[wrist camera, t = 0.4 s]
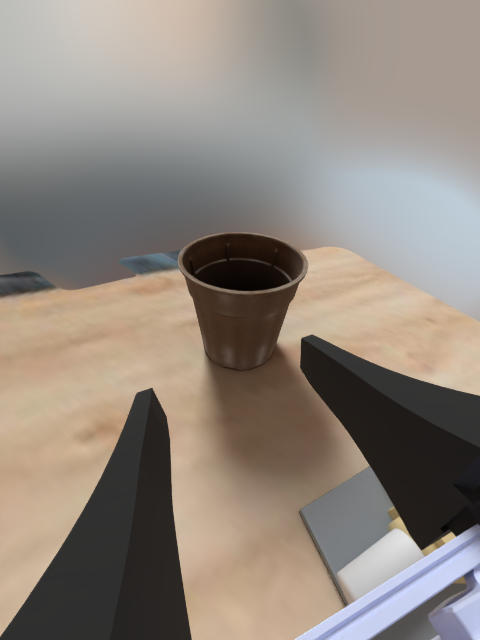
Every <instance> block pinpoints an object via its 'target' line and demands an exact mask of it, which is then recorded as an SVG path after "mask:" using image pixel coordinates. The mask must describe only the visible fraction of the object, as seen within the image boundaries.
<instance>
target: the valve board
mask: <svg viewBox="0 0 480 640" xmlns="http://www.w3.org/2000/svg"><path fill="white" fill-rule="evenodd" d="M299 513H300V515H301V517H302V519H303V521H304V523H305V525H306V527H307V529H308V531H309V533H310V535H311V537H312V539H313V541H314V543H315V545H316V547H317V549H318V551H319V553H320V555H321V557H322V559H323V561H324V563H325V565H326V567H327V569H328V571H329V573H330V575H331V577H332V579H333V581H334V583H335V585H336V587H337V589H338V591H339V593H340V595H341V597H342V599H343V601H344V603H345V605H346V607H347V606H348V605H350V604H351V603H353V602H355V601H356V600H358V599H359V598H361V597H362V596H364V595H366V594H367V593H369V592H370V591H372V590H374V589H375V588H377V587H378V586H380V585H381V584H383V583H385V582H386V581H388V580H389V579H391V578H392V577H394V576H396V575H397V574H399V573H400V572H402V571H403V570H405V569H407V568H408V567H410V566H411V565H413V564H414V563H416V562H418V561H419V560H421V559H422V558H424V557H426V556H427V555H429V554H430V553H432V552H433V551H435V550H437V549H438V548H440V547H441V546H443V545H444V544H446V543H448V542H449V541H451V540H452V539H454V538H455V537H456V536H455V535H454V534H453V533H452V532H451V533H449V534H448V535H446V536H444V537H443V538H441V539H440V540H438V541H436V542H435V543H433V544H432V545H430V546H428V547H427V548H425V549H424V550H421V549H420V548H419V547H418V546H417V544H416V543H415V541H414V540H413V539H412V537H411V536H410V534H409V532H408V531H407V529H406V527H405V525H404V523H403V521H402V519H401V518H400V516H399V514H398V512H397V511H396V509H395V507H394V505H393V503H392V502H391V500H390V498H389V496H388V495H387V493H386V491H385V490H384V488H383V486H382V485H381V483H380V481H379V480H378V478H377V476H376V475H375V473H374V471H373V470H372V468H371V466H370V467H368V468H366V469H365V470H363V471H362V472H360V473H358V474H357V475H355V476H353V477H352V478H350V479H349V480H347V481H345V482H344V483H342V484H341V485H339V486H337V487H336V488H334V489H333V490H331V491H329V492H328V493H326V494H325V495H323V496H321V497H320V498H318V499H317V500H315V501H313V502H312V503H310V504H308V505H307V506H305V507H304V508H302V509H301V510H300V511H299ZM466 588H467V585H466V582H465V579H464V575H463V576H462V577H461V578H459V579H458V580H456V581H455V582H453V583H452V584H450V585H449V586H447V587H446V588H445V589H443V590H442V591H440V592H439V593H437V594H436V595H434V596H433V597H431V598H430V599H428V600H427V601H426V602H424V603H423V604H421V605H420V606H418V607H417V608H415V609H414V610H412V611H411V612H410V613H408V614H407V615H405V616H404V617H402V618H401V619H399V620H398V621H396V622H395V623H394V624H392V625H391V626H389V627H388V628H386V629H385V630H383V631H382V632H380V633H379V634H378V635H376V636H375V637H373V638H372V639H370V640H431V639H433V638H434V637H436V636H437V635H438V633H437V632H436V630H435V629H434V627H433V625H432V624H431V622H430V621H429V619H428V614H429V613H431V612H432V611H433V610H434V609H435V608H436V607H437V606H439V605H440V604H441V603H442V602H444V601H445V600H446V599H448V598H450V597H451V596H453V595H455V594H457V593H459V592H461V591H463V590H465V589H466Z"/></svg>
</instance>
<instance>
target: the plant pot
mask: <svg viewBox="0 0 480 640" xmlns="http://www.w3.org/2000/svg"><path fill="white" fill-rule="evenodd" d="M178 265H179V269H180V271H181V272H182V274H183V275H184V276H185V279H186V283H187V286H188V290H189V293H190V295H191V296H192V298H193V301H194V305H195V309H196V313H197V318H198V322H199V326H200V330H201V334H202V339H203V344H204V348H205V351H206V353H207V354H208V356H209V357H210V358H211V359H212V360H213V361H214V362H215V363H217V364H218V365H220V366H222V367H230V368H234V369H236V370H247V369H252V368H255V367H257V366H260V365H261V364H263V363H265V362H266V361H267V360H268V359H269V358H270V357H271V355H272V354H273V352H274V349H275V345H276V342H277V339H278V336H279V333H280V330H281V327H282V324H283V321H284V318H285V315H286V312H287V309H288V306H289V303H290V302H291V301H292V300H293V298H294V296H295V293H296V290H297V288H298V285H299V282H301V281H302V279H303V278H304V277H305V275H306V273H307V269H308V261H307V259H306V257H305V255H304V254H303V253H302V252H301V251H300V250H299V249H297V248H296V247H295V246H293V245H292V244H290V243H288V242H286V241H284V240H281V239H278V238H275V237H272V236H267V235H262V234H256V233H244V232H230V233H220V234H214V235H210V236H206V237H203V238H200V239H198V240H196V241H193V242H192V243H190V244H188V245H187V246H185V247H184V248H183V249H182V251H181V252H180V254H179V256H178Z"/></svg>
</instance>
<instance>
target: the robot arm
mask: <svg viewBox="0 0 480 640" xmlns="http://www.w3.org/2000/svg"><path fill="white" fill-rule="evenodd" d="M300 368H301V370H302V372H303V373H304V375H305V377H306V378H307V380H308V381H309V383H310V384H311V386H312V387H313V388H314V390H315V391H316V392H317V393H318V395H319V396H320V397H321V398H322V400H323V401H324V402H325V403H326V405H327V406H328V407H329V408H330V410H331V411H332V412H333V413H334V414H335V416H336V417H337V418H338V419H339V421H340V422H341V423H342V425H343V426H344V427H345V429H346V430H347V431H348V433H349V434H350V436H351V437H352V439H353V440H354V442H355V443H356V445H357V446H358V448H359V449H360V451H361V452H362V454H363V455H364V457H365V459H366V460H367V462H368V463H369V465H370V466H371V468H372V470H373V471H374V473H375V475H376V476H377V478H378V480H379V481H380V483H381V485H382V486H383V488H384V490H385V491H386V493H387V495H388V496H389V498H390V500H391V502H392V503H393V505H394V507H395V509H396V511H397V512H398V514H399V516H400V518H401V519H402V521H403V523H404V525H405V527H406V529H407V531H408V532H409V534H410V536H411V537H412V539H413V540H414V541H415V543H416V544H417V546H418V547H419V548H420V549H421V550H424V549H425V548H427V547H428V546H430V545H432V544H433V543H435V542H436V541H438V540H440V539H441V538H443V537H444V536H446V535H448V534H449V533H451V532H452V533H453V534H454V535H455V536H456V537H455V538H454V539H452V540H451V541H449V542H448V543H446V544H444V545H443V546H441V547H440V548H438V549H437V550H435V551H433V552H432V553H430V554H429V555H427V556H426V557H424V558H422V559H421V560H419V561H418V562H416V563H414V564H413V565H411V566H410V567H408V568H407V569H405V570H403V571H402V572H400V573H399V574H397V575H396V576H394V577H392V578H391V579H389V580H388V581H386V582H385V583H383V584H381V585H380V586H378V587H377V588H375V589H374V590H372V591H370V592H369V593H367V594H366V595H364V596H362V597H361V598H359V599H358V600H356V601H355V602H353V603H351V604H350V605H348V606H347V607H345V608H344V609H342V610H340V611H339V612H337V613H336V614H334V615H333V616H331V617H329V618H328V619H326V620H325V621H323V622H322V623H320V624H318V625H317V626H315V627H314V628H312V629H310V630H309V631H307V632H306V633H304V634H303V635H301V636H299V637H298V638H296V639H295V640H370V639H372V638H373V637H375V636H376V635H378V634H379V633H380V632H382V631H383V630H385V629H386V628H388V627H389V626H391V625H392V624H394V623H395V622H396V621H398V620H399V619H401V618H402V617H404V616H405V615H407V614H408V613H410V612H411V611H412V610H414V609H415V608H417V607H418V606H420V605H421V604H423V603H424V602H426V601H427V600H428V599H430V598H431V597H433V596H434V595H436V594H437V593H439V592H440V591H442V590H443V589H445V588H446V587H447V586H449V585H450V584H452V583H453V582H455V581H456V580H458V579H459V578H461V577H462V576H463V575H464V579H465V582H466V585H467V588H466V589H465V590H463V591H461V592H459V593H457V594H455V595H453V596H451V597H450V598H448V599H446V600H445V601H444V602H442V603H441V604H440V605H439V606H437V607H436V608H435V609H434V610H433V611H432V612H431V613H429V614H428V619H429V621H430V622H431V624H432V625H433V627H434V629H435V630H436V632H437V633H438V635H437V636H436V637H434V638H433V639H431V640H480V396H478V395H474V394H469V393H465V392H461V391H456V390H453V389H449V388H445V387H441V386H438V385H434V384H431V383H427V382H424V381H420V380H417V379H414V378H411V377H408V376H405V375H402V374H400V373H397V372H394V371H391V370H388V369H386V368H383V367H381V366H378V365H376V364H374V363H371V362H369V361H367V360H364V359H362V358H360V357H358V356H355V355H353V354H351V353H349V352H347V351H345V350H343V349H341V348H339V347H337V346H335V345H333V344H331V343H329V342H327V341H325V340H323V339H321V338H319V337H317V336H314V335H309V336H306V337H303V338H301V361H300ZM0 640H192V639H191V633H190V626H189V620H188V614H187V608H186V602H185V595H184V588H183V582H182V575H181V568H180V561H179V554H178V546H177V539H176V531H175V523H174V515H173V505H172V485H171V456H170V437H169V430H168V423H167V417H166V415H165V413H164V411H163V409H162V407H161V405H160V403H159V401H158V399H157V397H156V395H155V393H154V391H153V389H152V388H150V389H147V390H144V391H141V392H138V393H137V394H136V396H135V399H134V401H133V404H132V407H131V410H130V412H129V415H128V418H127V420H126V423H125V425H124V428H123V430H122V433H121V435H120V437H119V440H118V442H117V444H116V447H115V449H114V451H113V453H112V455H111V458H110V460H109V462H108V464H107V466H106V468H105V470H104V472H103V474H102V476H101V478H100V480H99V482H98V484H97V486H96V488H95V490H94V492H93V494H92V495H91V497H90V499H89V501H88V503H87V504H86V506H85V508H84V510H83V511H82V513H81V515H80V517H79V518H78V520H77V522H76V523H75V525H74V527H73V528H72V530H71V532H70V533H69V535H68V537H67V538H66V540H65V542H64V543H63V545H62V546H61V548H60V550H59V551H58V553H57V554H56V556H55V557H54V559H53V561H52V562H51V564H50V565H49V567H48V568H47V570H46V571H45V573H44V574H43V576H42V577H41V579H40V580H39V582H38V583H37V585H36V586H35V588H34V589H33V591H32V592H31V594H30V595H29V597H28V598H27V600H26V601H25V603H24V604H23V606H22V607H21V608H20V610H19V611H18V613H17V614H16V616H15V617H14V619H13V620H12V621H11V623H10V624H9V625H8V627H7V628H6V630H5V631H4V632H3V634H2V635H1V637H0Z"/></svg>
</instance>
